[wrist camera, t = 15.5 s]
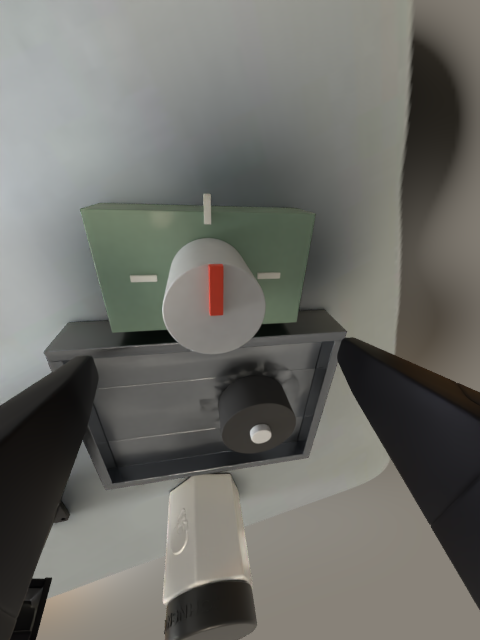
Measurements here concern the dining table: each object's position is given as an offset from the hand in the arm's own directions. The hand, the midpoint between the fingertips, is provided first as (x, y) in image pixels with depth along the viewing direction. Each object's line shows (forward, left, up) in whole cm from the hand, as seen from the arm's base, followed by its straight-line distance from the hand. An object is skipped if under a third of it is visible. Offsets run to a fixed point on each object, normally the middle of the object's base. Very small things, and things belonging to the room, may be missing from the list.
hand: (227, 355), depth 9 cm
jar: (-29, +1, -10) cm, 31 cm away
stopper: (-11, -3, -9) cm, 15 cm away
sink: (-11, 0, -10) cm, 15 cm away
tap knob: (+1, 0, -7) cm, 7 cm away
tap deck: (+1, 0, -10) cm, 10 cm away
